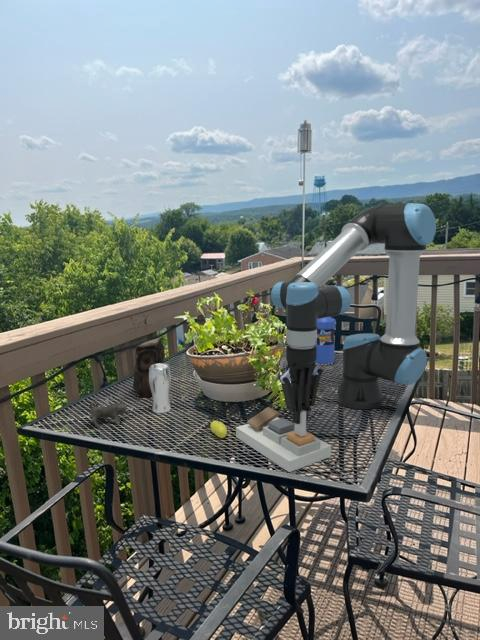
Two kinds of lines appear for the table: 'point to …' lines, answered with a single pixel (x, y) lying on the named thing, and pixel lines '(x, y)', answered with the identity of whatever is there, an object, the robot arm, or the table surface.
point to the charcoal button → (281, 426)
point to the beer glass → (160, 387)
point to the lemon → (218, 429)
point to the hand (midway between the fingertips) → (300, 434)
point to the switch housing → (283, 447)
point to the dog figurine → (107, 412)
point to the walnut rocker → (263, 418)
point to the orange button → (300, 438)
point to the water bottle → (325, 340)
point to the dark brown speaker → (146, 365)
